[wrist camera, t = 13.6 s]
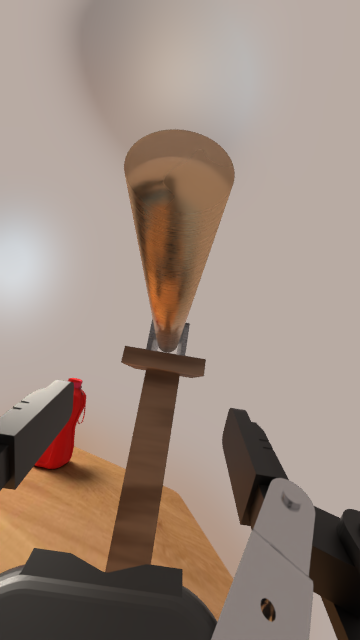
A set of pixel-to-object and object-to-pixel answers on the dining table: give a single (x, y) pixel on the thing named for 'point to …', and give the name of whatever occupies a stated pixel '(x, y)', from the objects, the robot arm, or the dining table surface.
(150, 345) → the grey hollow box
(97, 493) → the dining table surface
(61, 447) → the water bottle
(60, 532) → the dining table surface
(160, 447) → the wooden pedestal stand
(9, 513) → the dining table surface
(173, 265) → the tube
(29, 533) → the dining table surface
